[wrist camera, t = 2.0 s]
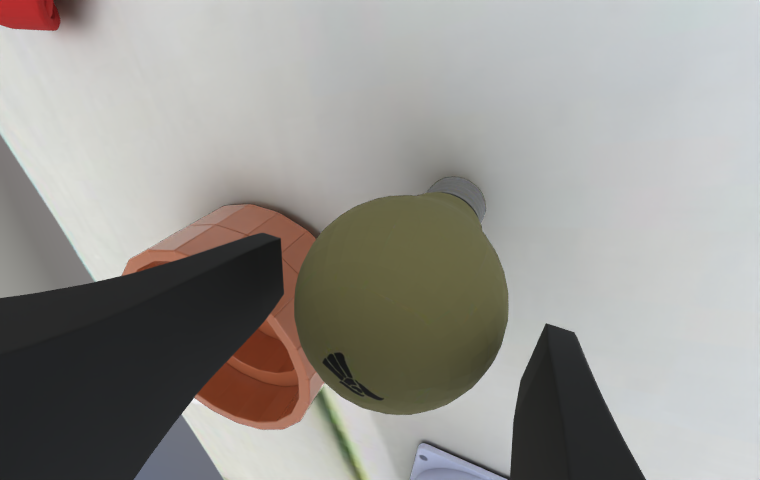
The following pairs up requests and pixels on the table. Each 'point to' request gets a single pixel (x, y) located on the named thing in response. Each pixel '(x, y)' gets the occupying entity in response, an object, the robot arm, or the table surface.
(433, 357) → the light bulb
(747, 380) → the table surface
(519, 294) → the table surface
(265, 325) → the bowl
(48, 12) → the tracker holder
